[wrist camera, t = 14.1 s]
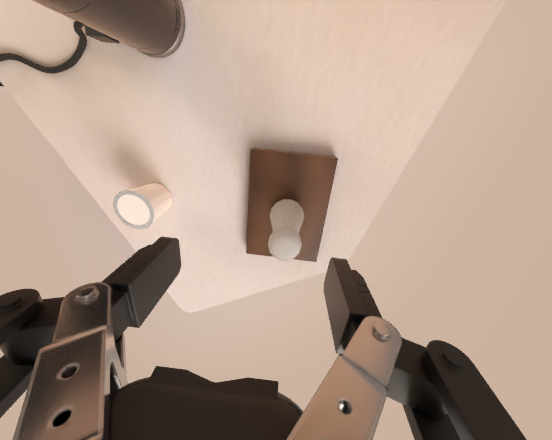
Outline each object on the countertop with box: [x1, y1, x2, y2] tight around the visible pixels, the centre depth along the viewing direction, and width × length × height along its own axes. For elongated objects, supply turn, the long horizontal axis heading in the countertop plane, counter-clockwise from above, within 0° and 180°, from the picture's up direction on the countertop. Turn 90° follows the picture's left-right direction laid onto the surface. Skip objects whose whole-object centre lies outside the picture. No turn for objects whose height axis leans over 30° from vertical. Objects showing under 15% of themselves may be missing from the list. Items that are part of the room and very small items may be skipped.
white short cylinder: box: [113, 183, 172, 229], centre depth 38 cm, size 7×7×7 cm
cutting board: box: [246, 148, 338, 262], centre depth 39 cm, size 14×20×2 cm
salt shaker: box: [268, 199, 304, 260], centre depth 33 cm, size 6×6×13 cm
